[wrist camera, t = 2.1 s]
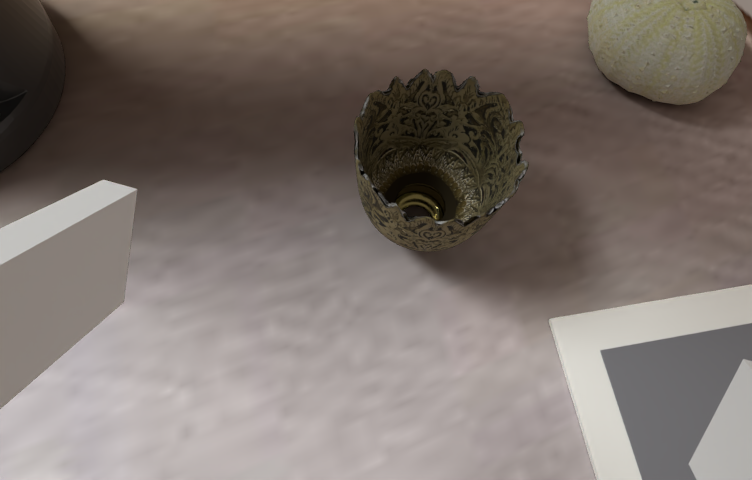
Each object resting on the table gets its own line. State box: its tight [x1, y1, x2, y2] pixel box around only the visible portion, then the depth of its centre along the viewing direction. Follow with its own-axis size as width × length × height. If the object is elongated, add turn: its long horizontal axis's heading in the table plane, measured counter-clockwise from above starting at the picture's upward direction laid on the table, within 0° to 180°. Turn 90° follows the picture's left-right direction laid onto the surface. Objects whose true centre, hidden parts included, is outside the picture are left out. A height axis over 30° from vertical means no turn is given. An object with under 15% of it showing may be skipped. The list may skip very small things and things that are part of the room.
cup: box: [354, 69, 529, 251], centre depth 31 cm, size 8×7×8 cm
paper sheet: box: [548, 284, 752, 480], centre depth 31 cm, size 13×13×1 cm
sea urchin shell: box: [587, 0, 747, 105], centre depth 39 cm, size 9×8×8 cm
